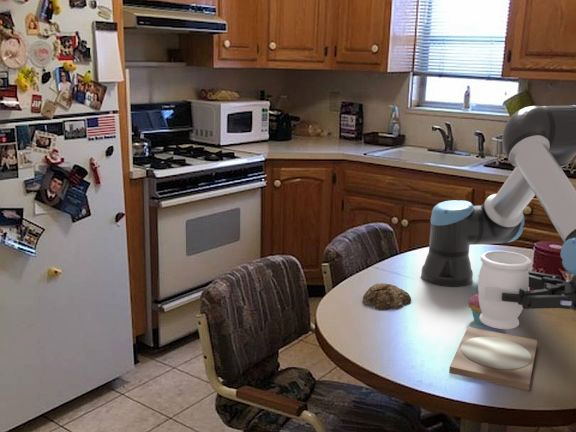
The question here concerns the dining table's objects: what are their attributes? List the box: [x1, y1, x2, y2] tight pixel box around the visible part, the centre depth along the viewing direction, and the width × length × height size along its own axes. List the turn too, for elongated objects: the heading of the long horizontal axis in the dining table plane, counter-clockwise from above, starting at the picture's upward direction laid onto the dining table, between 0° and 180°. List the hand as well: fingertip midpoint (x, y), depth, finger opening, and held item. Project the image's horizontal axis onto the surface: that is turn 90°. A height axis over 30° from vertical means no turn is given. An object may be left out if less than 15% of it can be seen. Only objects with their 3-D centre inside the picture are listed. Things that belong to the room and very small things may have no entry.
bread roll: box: [362, 282, 413, 311], centre depth 169 cm, size 13×12×5 cm
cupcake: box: [467, 293, 486, 326], centre depth 156 cm, size 9×8×12 cm
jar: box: [477, 250, 532, 330], centre depth 134 cm, size 11×10×15 cm
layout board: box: [448, 326, 538, 391], centre depth 138 cm, size 22×16×2 cm
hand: (483, 284), depth 135 cm, fingers closed on jar, 10 cm apart
